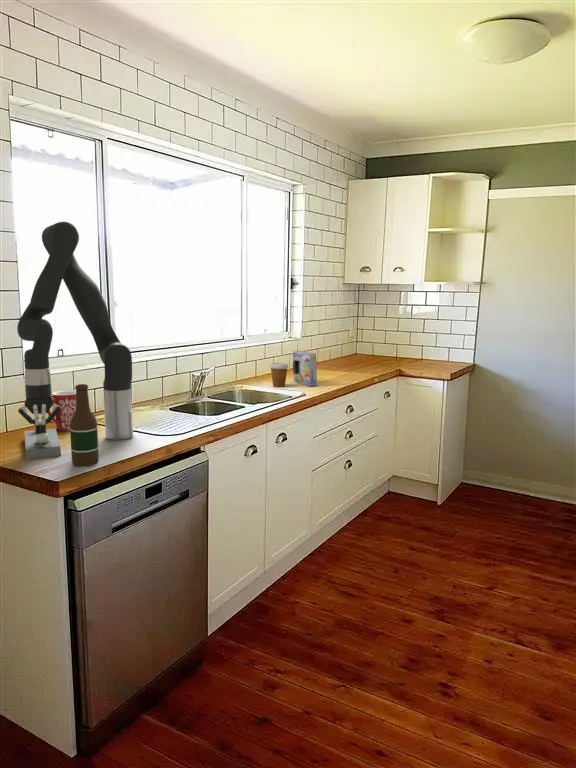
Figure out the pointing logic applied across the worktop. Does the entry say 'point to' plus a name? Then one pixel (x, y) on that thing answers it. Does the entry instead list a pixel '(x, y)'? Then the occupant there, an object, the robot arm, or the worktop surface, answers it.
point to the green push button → (42, 437)
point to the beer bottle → (83, 431)
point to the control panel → (42, 445)
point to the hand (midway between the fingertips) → (41, 435)
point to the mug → (64, 408)
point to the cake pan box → (304, 368)
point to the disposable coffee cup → (279, 374)
